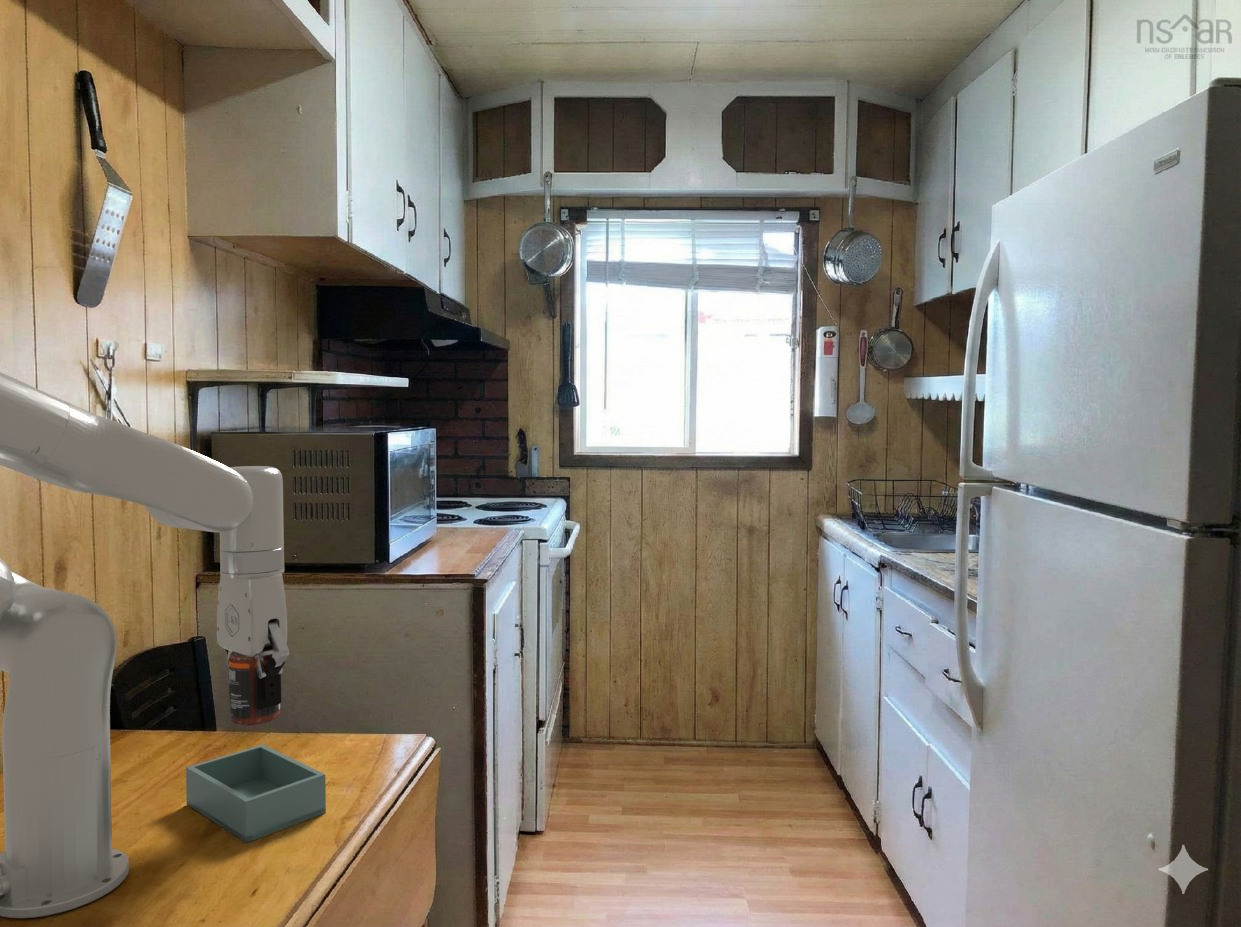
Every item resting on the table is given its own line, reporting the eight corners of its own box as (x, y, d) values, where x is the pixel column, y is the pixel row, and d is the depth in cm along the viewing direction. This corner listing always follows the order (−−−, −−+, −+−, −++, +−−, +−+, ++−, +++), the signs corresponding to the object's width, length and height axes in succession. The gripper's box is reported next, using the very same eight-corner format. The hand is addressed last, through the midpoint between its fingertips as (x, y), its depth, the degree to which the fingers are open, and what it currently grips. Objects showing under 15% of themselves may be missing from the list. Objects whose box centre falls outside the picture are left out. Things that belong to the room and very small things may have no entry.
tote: (246, 843, 99) (245, 801, 99) (186, 805, 109) (186, 767, 109) (325, 812, 107) (325, 774, 107) (263, 779, 117) (262, 744, 117)
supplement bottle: (289, 712, 111) (287, 627, 110) (265, 728, 105) (264, 639, 104) (246, 710, 111) (244, 626, 111) (220, 726, 105) (218, 637, 105)
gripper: (192, 559, 110) (195, 694, 110) (257, 573, 99) (260, 723, 99) (248, 552, 115) (250, 681, 116) (315, 565, 105) (317, 707, 105)
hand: (255, 699), depth 108 cm, fingers closed on supplement bottle, 6 cm apart
